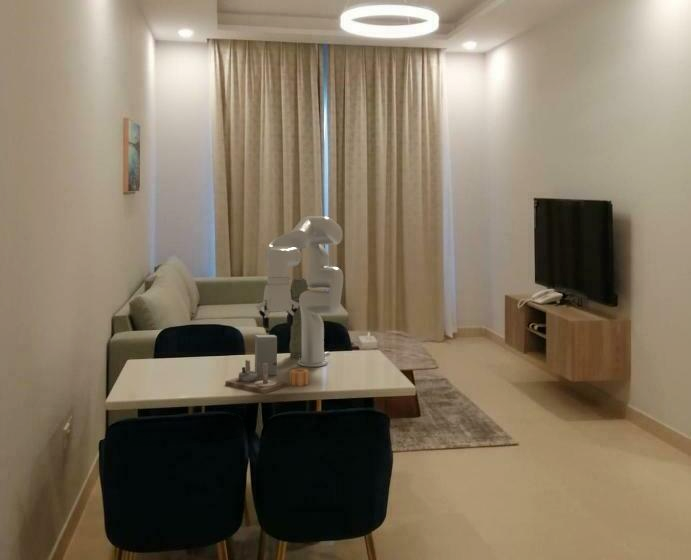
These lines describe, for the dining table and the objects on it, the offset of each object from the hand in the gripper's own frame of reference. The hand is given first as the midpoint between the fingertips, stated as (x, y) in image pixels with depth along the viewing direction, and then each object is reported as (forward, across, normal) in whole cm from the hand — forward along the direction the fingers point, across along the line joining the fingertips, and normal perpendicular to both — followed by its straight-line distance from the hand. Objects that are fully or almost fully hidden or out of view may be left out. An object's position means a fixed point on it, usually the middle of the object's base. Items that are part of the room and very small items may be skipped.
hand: (278, 326), depth 259 cm
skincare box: (+22, -2, -17) cm, 28 cm away
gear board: (+22, +8, -3) cm, 24 cm away
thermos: (+22, -28, -38) cm, 52 cm away
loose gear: (+22, -8, +2) cm, 24 cm away
